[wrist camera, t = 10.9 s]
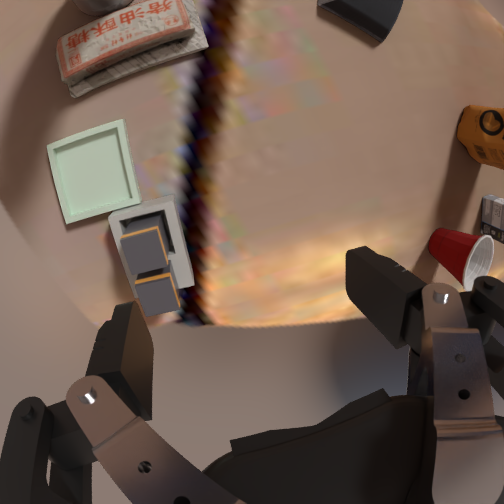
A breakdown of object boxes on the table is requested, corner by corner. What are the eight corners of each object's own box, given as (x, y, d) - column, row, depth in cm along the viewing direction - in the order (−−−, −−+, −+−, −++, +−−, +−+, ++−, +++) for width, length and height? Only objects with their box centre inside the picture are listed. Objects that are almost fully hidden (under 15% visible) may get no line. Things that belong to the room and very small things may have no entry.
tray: (51, 144, 29) (46, 145, 28) (124, 119, 31) (122, 118, 29) (70, 220, 34) (66, 224, 32) (142, 200, 35) (140, 203, 34)
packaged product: (60, 98, 24) (46, 31, 20) (74, 101, 28) (60, 41, 24) (212, 39, 26) (191, -25, 21) (208, 50, 30) (189, -9, 26)
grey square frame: (114, 209, 35) (97, 231, 27) (174, 194, 36) (171, 211, 28) (138, 283, 39) (130, 320, 31) (192, 271, 40) (197, 306, 32)
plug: (131, 218, 35) (119, 240, 27) (161, 210, 35) (157, 229, 28) (140, 248, 36) (131, 275, 29) (170, 240, 37) (167, 266, 30)
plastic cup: (455, 251, 52) (495, 274, 41) (422, 275, 52) (462, 304, 41) (452, 206, 47) (498, 225, 37) (417, 229, 47) (464, 254, 36)
